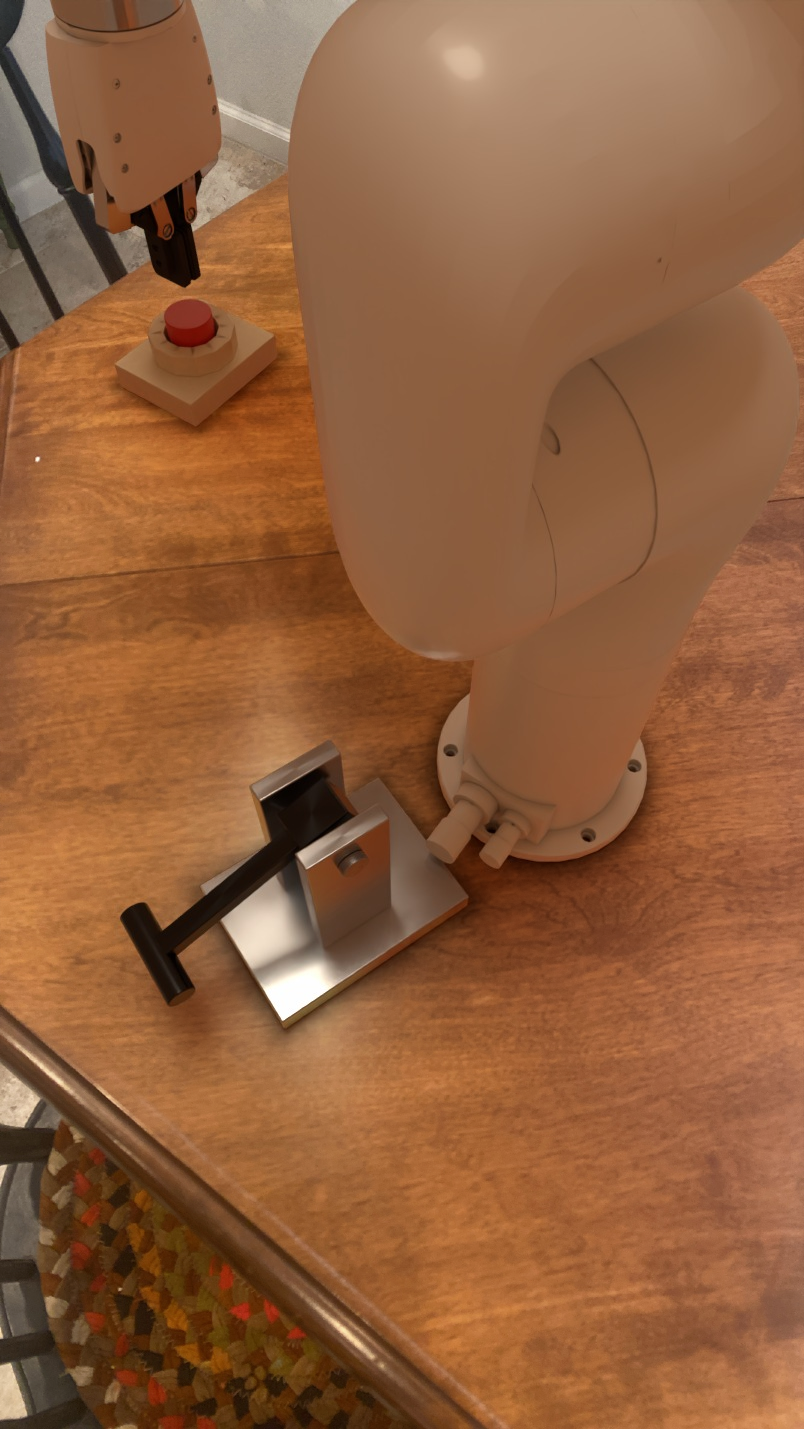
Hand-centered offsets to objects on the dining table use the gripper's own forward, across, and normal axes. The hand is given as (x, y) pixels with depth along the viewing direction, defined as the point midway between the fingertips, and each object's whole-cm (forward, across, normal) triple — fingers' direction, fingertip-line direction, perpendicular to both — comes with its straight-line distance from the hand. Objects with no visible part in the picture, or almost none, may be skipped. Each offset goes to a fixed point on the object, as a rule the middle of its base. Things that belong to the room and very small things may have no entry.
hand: (178, 275), depth 69 cm
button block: (+8, 0, 0) cm, 8 cm away
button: (+5, 0, 0) cm, 5 cm away
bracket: (+8, +29, +36) cm, 47 cm away
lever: (0, +33, +35) cm, 48 cm away
